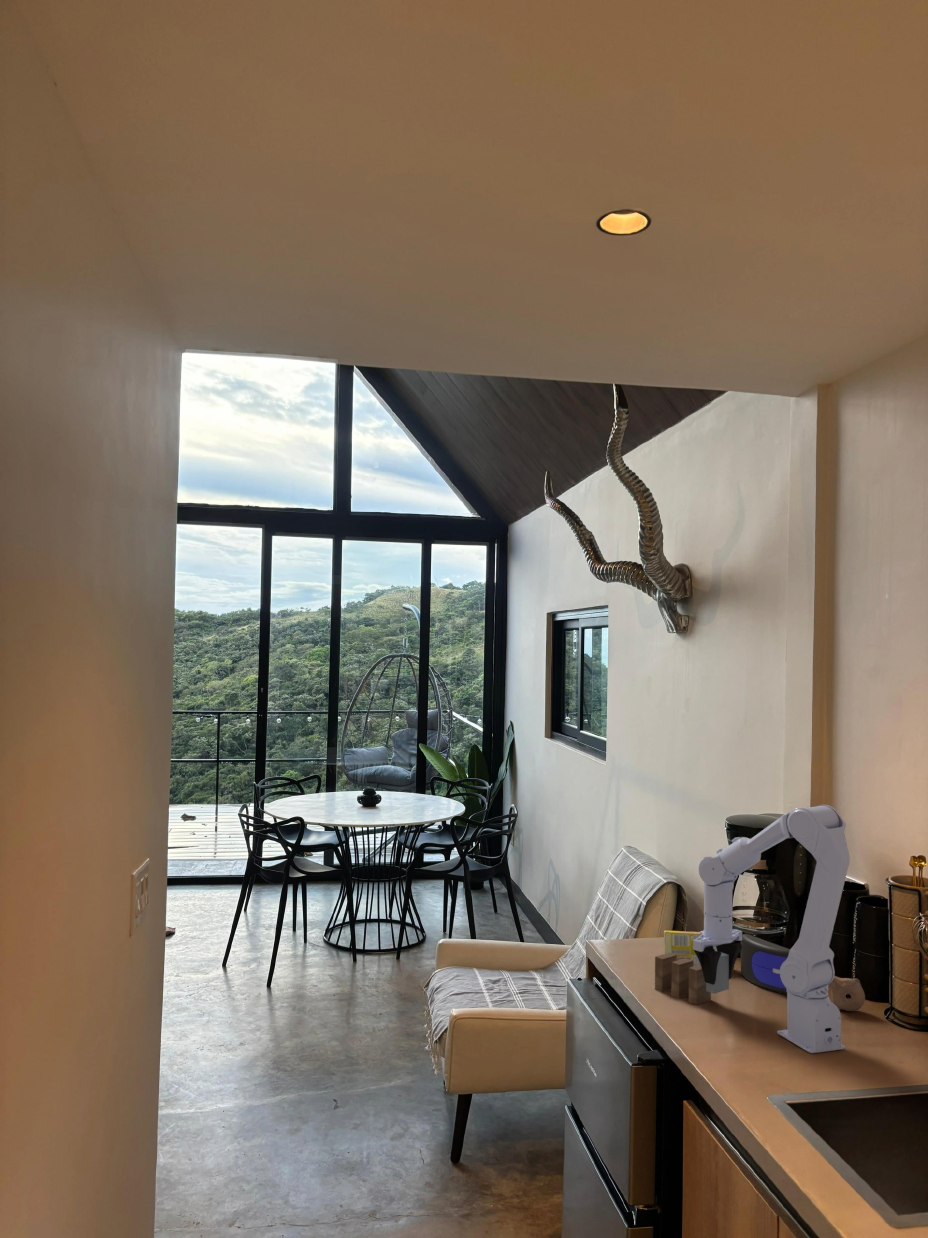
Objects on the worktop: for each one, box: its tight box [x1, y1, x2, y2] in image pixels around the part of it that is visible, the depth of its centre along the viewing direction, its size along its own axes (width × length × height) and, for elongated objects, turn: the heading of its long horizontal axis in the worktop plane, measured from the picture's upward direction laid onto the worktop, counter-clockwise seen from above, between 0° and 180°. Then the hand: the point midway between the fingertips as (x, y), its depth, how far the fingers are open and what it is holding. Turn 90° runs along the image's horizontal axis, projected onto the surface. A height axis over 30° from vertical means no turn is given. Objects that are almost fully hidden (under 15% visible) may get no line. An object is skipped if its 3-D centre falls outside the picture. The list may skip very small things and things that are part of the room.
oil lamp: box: [828, 975, 866, 1012], centre depth 177 cm, size 9×4×8 cm, turn 80°
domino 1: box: [654, 953, 677, 993], centre depth 188 cm, size 2×5×7 cm, turn 128°
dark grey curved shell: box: [740, 933, 791, 995], centre depth 191 cm, size 16×5×9 cm, turn 27°
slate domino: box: [706, 952, 730, 995], centre depth 177 cm, size 2×5×7 cm, turn 128°
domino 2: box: [670, 958, 694, 999], centre depth 184 cm, size 2×5×7 cm, turn 128°
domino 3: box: [688, 965, 712, 1006], centre depth 181 cm, size 2×5×7 cm, turn 128°
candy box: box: [663, 930, 735, 971], centre depth 202 cm, size 16×2×8 cm, turn 84°
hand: (717, 980), depth 177 cm, fingers closed on slate domino, 5 cm apart
